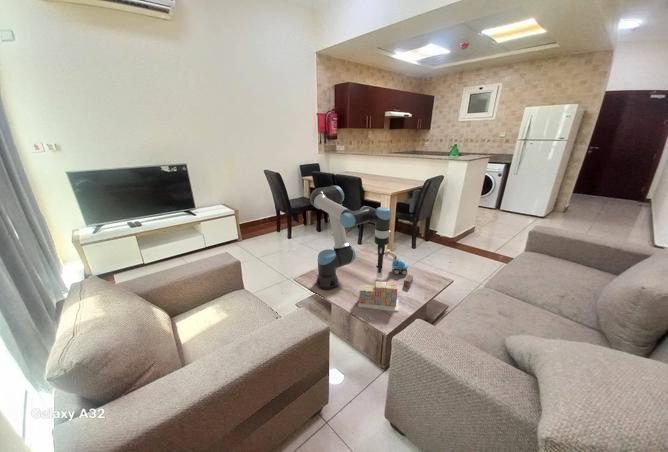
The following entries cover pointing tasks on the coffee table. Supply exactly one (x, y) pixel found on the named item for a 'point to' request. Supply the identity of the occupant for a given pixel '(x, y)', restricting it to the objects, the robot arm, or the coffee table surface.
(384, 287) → the stack of blocks
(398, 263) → the toy excavator
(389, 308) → the sage board
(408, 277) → the walnut brick
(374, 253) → the coffee table surface
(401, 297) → the coffee table surface
